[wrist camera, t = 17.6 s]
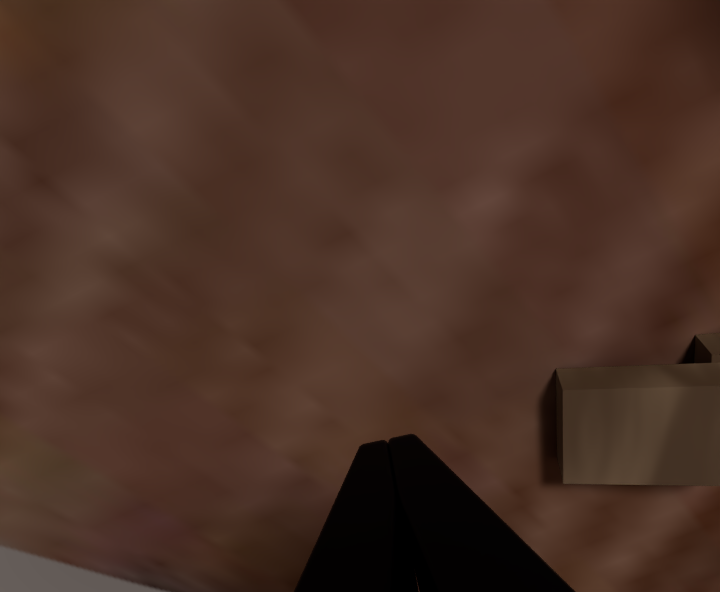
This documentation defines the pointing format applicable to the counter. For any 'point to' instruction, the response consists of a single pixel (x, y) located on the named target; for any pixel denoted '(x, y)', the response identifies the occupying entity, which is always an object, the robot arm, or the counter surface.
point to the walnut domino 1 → (639, 424)
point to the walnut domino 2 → (707, 348)
